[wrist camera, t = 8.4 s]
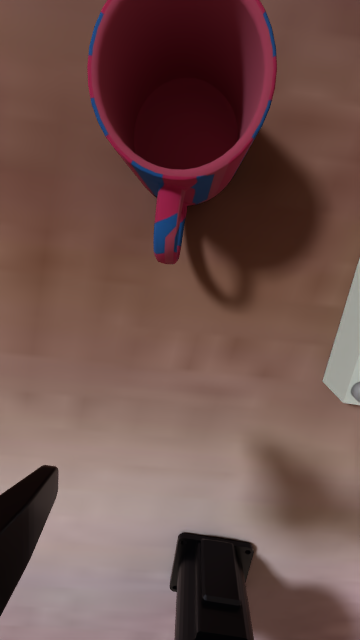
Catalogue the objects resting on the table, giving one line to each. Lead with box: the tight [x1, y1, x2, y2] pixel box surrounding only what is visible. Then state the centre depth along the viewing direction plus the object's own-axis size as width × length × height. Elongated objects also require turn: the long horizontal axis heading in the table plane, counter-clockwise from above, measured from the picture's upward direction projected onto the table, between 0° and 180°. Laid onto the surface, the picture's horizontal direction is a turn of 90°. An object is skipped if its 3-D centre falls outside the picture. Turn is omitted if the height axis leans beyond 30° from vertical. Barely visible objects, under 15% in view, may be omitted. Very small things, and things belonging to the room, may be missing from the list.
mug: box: [87, 0, 277, 264], centre depth 13 cm, size 7×10×7 cm
